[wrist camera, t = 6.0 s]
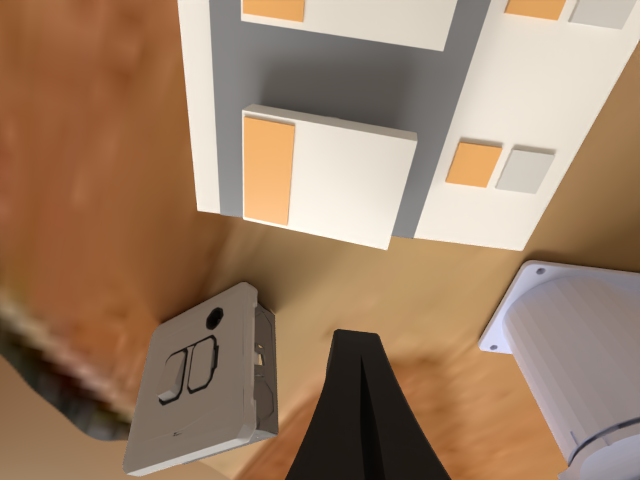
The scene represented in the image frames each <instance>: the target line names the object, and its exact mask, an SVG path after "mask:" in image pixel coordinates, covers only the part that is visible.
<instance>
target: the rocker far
mask: <svg viewBox="0 0 640 480" xmlns="http://www.w3.org/2000/svg"><path fill="white" fill-rule="evenodd" d="M417 142H418V140H417V133H415V132H410V131H404V130H398V129H393V128H387V127H381V126H376V125H370V124H365V123H359V122H353V121H348V120H342V119H336V118H331V117H325V116H319V115H314V114H308V113H302V112H297V111H291V110H285V109H280V108H274V107H268V106H263V105H257V104H251V105H249V106H248V107H246V108H244V109H243V110H242V161H243V220H248V221H253V222H258V223H262V224H267V225H272V226H276V227H281V228H286V229H290V230H295V231H300V232H304V233H309V234H314V235H318V236H323V237H328V238H333V239H337V240H342V241H347V242H351V243H356V244H361V245H365V246H370V247H375V248H379V249H384V250H387V249H388V245H389V241H390V238H391V234H392V231H393V227H394V224H395V220H396V217H397V213H398V209H399V206H400V202H401V199H402V195H403V192H404V188H405V185H406V181H407V177H408V174H409V170H410V167H411V163H412V160H413V156H414V153H415V149H416V145H417Z"/></svg>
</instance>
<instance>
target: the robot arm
mask: <svg viewBox="0 0 640 480" xmlns="http://www.w3.org/2000/svg"><path fill="white" fill-rule="evenodd" d="M540 268H541V269H540ZM538 269H540V270H538ZM478 346H479V348H480V349H481V350H483V351H491V352H499V353H508V354H513V355H514V357H515V359H516V361H517V363H518V365H519V367H520V370H521V372H522V374H523V376H524V378H525V380H526V382H527V384H528V386H529V388H530V390H531V392H532V394H533V396H534V398H535V400H536V402H537V404H538V406H539V408H540V410H541V412H542V414H543V416H544V418H545V420H546V422H547V424H548V426H549V428H550V430H551V432H552V434H553V436H554V438H555V440H556V442H557V444H558V446H559V448H560V450H561V452H562V454H563V456H564V458H565V460H566V462H567V464H568V466H569V468H568V469H566V470H565V471H563V472H561V473H559V474H558V478H559V480H640V273H634V272H626V271H618V270H610V269H602V268H594V267H585V266H577V265H569V264H561V263H553V262H545V261H537V260H530V261H527V262H525V263H524V264H523V265H522V266H521V268H520V270H519V271H518V273H517V275H516V277H515V278H514V280H513V282H512V284H511V285H510V287H509V289H508V291H507V292H506V294H505V296H504V298H503V299H502V301H501V303H500V305H499V306H498V308H497V310H496V312H495V313H494V315H493V317H492V319H491V320H490V322H489V324H488V326H487V327H486V329H485V331H484V333H483V334H482V336H481V338H480V340H479V341H478ZM285 480H451V478H450V477H449V475H448V473H447V472H446V470H445V469H444V467H443V465H442V464H441V462H440V461H439V459H438V457H437V456H436V454H435V452H434V451H433V449H432V447H431V445H430V444H429V442H428V440H427V438H426V437H425V435H424V433H423V431H422V429H421V428H420V426H419V424H418V422H417V420H416V418H415V416H414V414H413V413H412V411H411V409H410V407H409V405H408V403H407V400H406V398H405V396H404V394H403V392H402V390H401V388H400V386H399V384H398V382H397V379H396V377H395V375H394V373H393V370H392V368H391V366H390V363H389V361H388V358H387V356H386V353H385V351H384V348H383V345H382V343H381V340H380V337H379V335H378V334H376V333H368V332H359V331H351V330H342V329H337V330H335V331H334V334H333V339H332V344H331V348H330V353H329V358H328V363H327V369H326V379H325V383H324V386H323V390H322V393H321V396H320V398H319V401H318V404H317V406H316V409H315V412H314V415H313V417H312V420H311V422H310V425H309V427H308V430H307V432H306V435H305V437H304V439H303V442H302V444H301V446H300V448H299V451H298V453H297V455H296V457H295V460H294V462H293V464H292V466H291V468H290V470H289V472H288V474H287V476H286V478H285Z"/></svg>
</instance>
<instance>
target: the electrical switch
mask: <svg viewBox="0 0 640 480" xmlns="http://www.w3.org/2000/svg"><path fill="white" fill-rule="evenodd" d="M257 294H258V291H257V289H256V288H255V287H253V286H252V285H250V284H248V283H247V282H241V283H239V284H237V285H235V286H233V287H231V288H229V289H227V290H226V291H224V292H222V293H220V294H218V295H216V296H214V297H212V298H210V299H208V300H207V301H205V302H203V303H201V304H199V305H197V306H195V307H193V308H191V309H190V310H188V311H186V312H184V313H182V314H180V315H178V316H176V317H174V318H172V319H171V320H169V321H167V322H165V323H163V324H161V325H159V326H158V327H157V328H156V329H155V331H154V333H153V334H152V337H151V341H150V345H149V350H148V354H147V358H146V363H145V367H144V372H143V376H142V381H141V385H140V390H139V394H138V398H137V403H136V407H135V412H134V416H133V421H132V425H131V429H130V434H129V438H128V443H127V447H126V452H125V456H124V461H123V470H124V472H125V473H126V474H128V475H134V476H142V475H146V474H149V473H152V472H155V471H159V470H162V469H165V468H168V467H171V466H175V465H177V464H187V463H190V462H194V461H197V460H200V459H203V458H207V457H210V456H213V455H216V454H219V453H223V452H226V451H229V450H232V449H236V448H239V447H242V446H245V445H249V444H252V443H255V442H258V441H261V440H265V439H268V438H271V437H274V436H278V433H279V432H278V400H277V369H276V337H275V315H274V314H272V313H270V312H269V311H267V310H266V309H264V308H263V307H262V306H261V305H260V304H259V303H257ZM258 344H259V345H260V346H262V347H263V348H259V346H258ZM259 354H261V359H262V365H259ZM269 431H270V432H269ZM275 432H278V433H275Z"/></svg>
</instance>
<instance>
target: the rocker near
mask: <svg viewBox="0 0 640 480" xmlns="http://www.w3.org/2000/svg"><path fill="white" fill-rule="evenodd" d="M456 4H457V0H241V21H246V22H252V23H259V24H266V25H272V26H279V27H285V28H292V29H299V30H305V31H312V32H318V33H325V34H332V35H338V36H345V37H351V38H358V39H365V40H371V41H378V42H384V43H391V44H398V45H404V46H411V47H417V48H424V49H431V50H437V51H443V50H444V47H445V43H446V39H447V36H448V32H449V29H450V25H451V22H452V18H453V15H454V11H455V7H456Z"/></svg>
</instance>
